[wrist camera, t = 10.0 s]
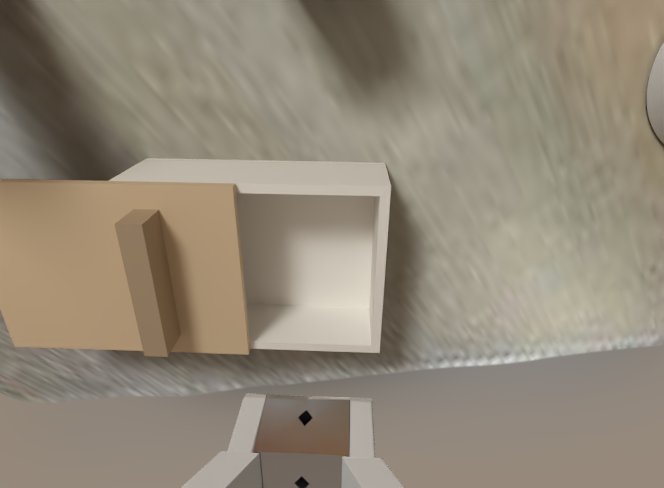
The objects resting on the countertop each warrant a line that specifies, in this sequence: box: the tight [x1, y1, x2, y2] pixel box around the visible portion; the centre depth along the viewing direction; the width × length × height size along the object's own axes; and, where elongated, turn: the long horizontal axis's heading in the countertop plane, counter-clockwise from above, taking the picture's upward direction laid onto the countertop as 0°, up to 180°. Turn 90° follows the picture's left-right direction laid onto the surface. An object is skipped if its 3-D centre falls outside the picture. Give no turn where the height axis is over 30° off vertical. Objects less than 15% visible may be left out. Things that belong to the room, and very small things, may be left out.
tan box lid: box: [0, 179, 251, 357], centre depth 35 cm, size 22×16×4 cm
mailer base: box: [109, 158, 391, 353], centre depth 40 cm, size 22×16×7 cm
